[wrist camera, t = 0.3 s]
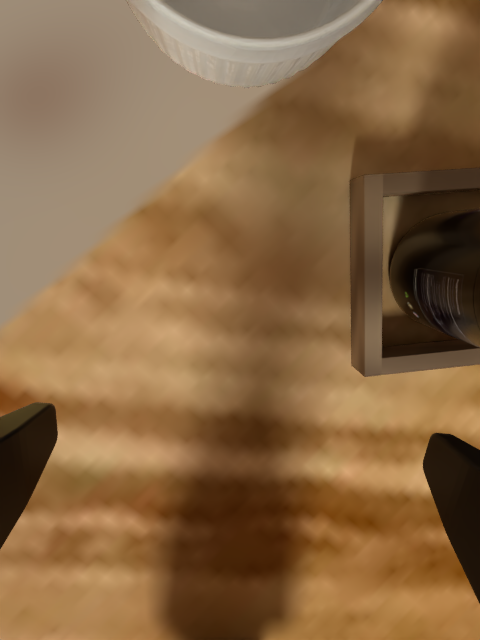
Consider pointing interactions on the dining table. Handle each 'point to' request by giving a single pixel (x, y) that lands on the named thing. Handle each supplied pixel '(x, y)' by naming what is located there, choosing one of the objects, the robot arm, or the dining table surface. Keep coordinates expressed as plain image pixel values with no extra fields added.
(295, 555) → the dining table surface
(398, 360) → the walnut collar
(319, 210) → the dining table surface
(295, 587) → the dining table surface
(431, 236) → the supplement bottle
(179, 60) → the ramekin
